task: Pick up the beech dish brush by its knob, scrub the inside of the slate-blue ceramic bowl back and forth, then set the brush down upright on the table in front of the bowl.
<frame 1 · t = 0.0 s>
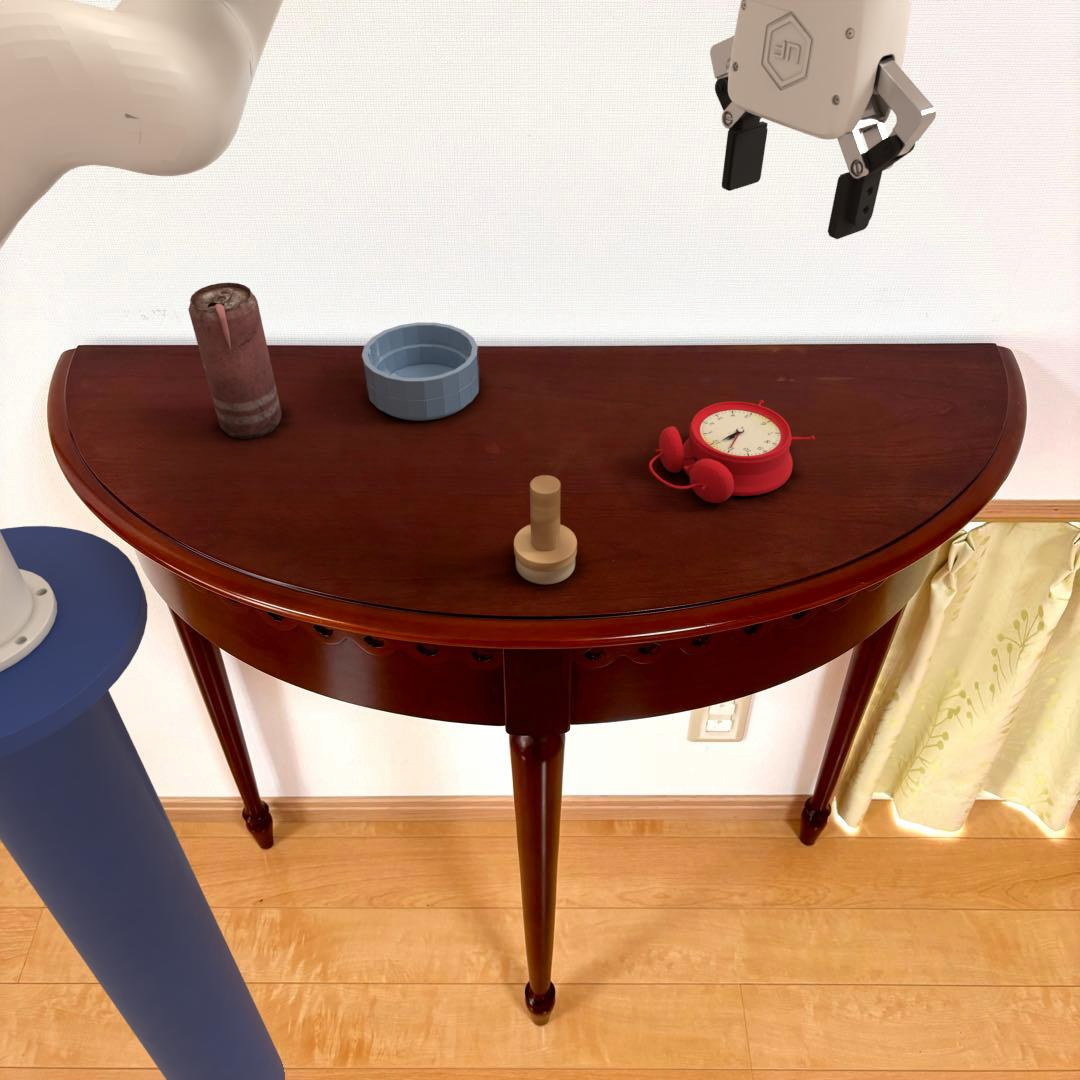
hand: (791, 208, 64), 29 cm above the table, tool pointing down, fingers open, 9 cm apart
can: (252, 425, 96), on the table
dish brush: (545, 564, 80), on the table
alarm clock: (721, 471, 90), on the table
bowl: (424, 392, 100), on the table
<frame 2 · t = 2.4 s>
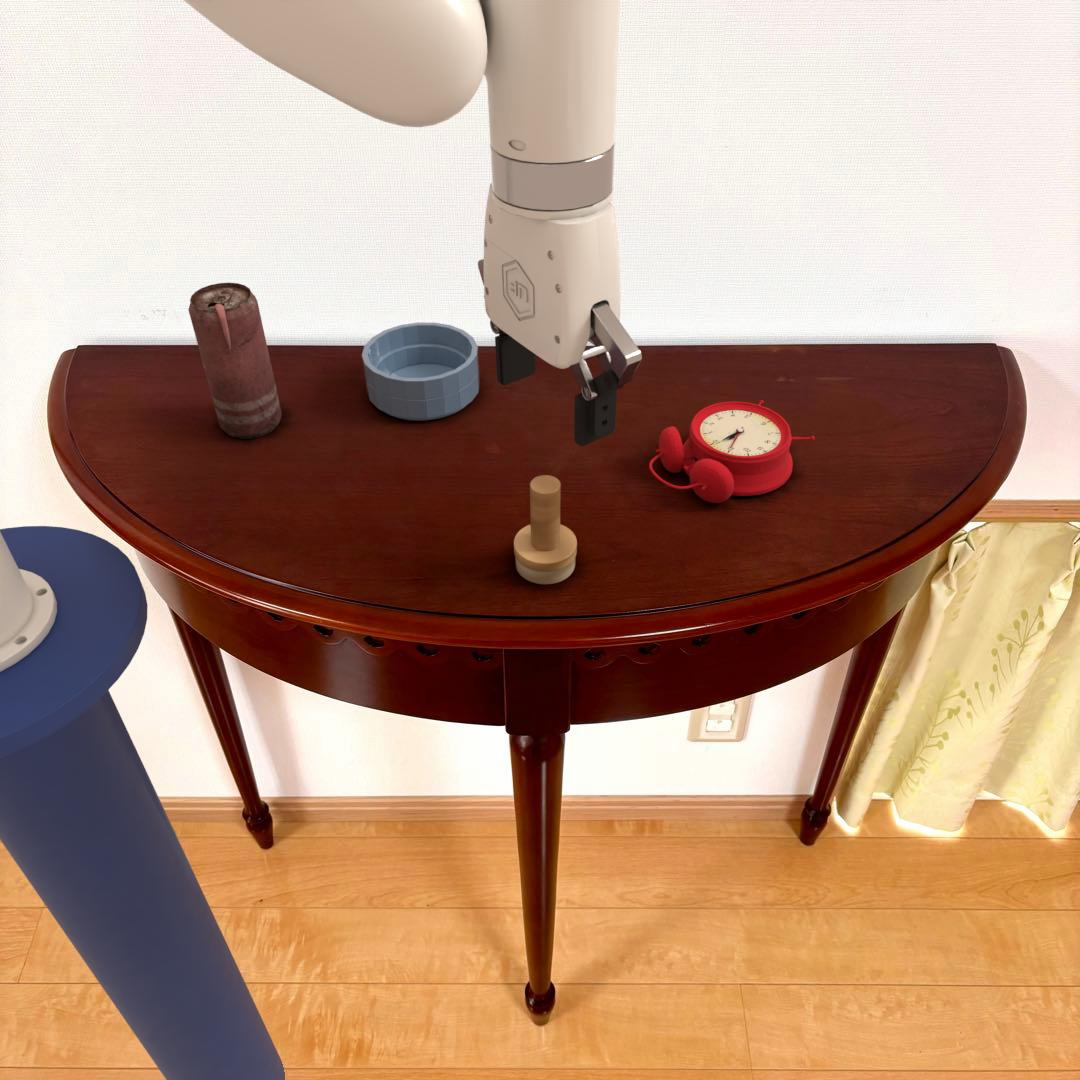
hand: (554, 407, 70), 16 cm above the table, tool pointing down, fingers open, 9 cm apart
nothing on the table moved.
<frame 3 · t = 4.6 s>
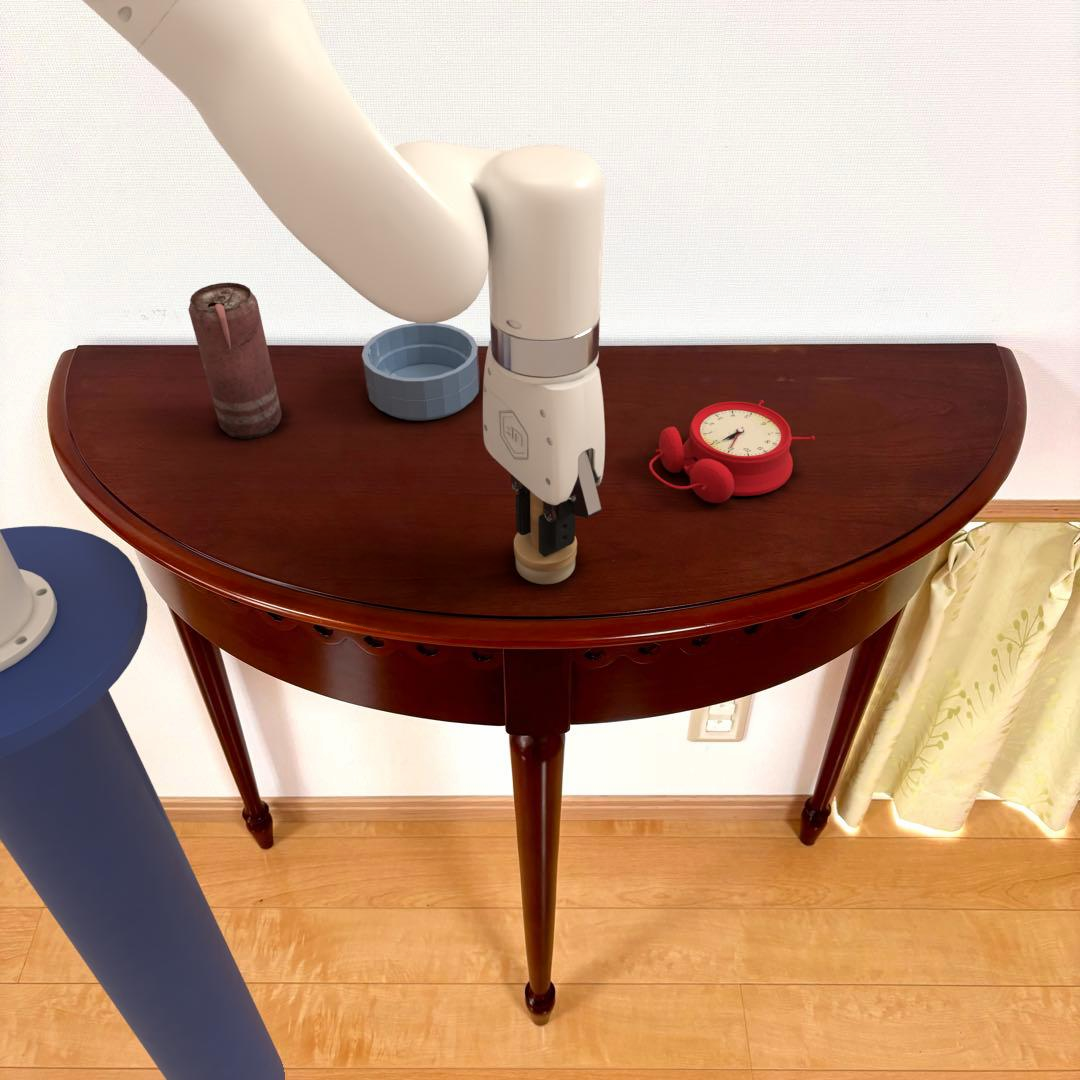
hand: (545, 536, 78), 3 cm above the table, tool pointing down, fingers closed on dish brush, 2 cm apart
dish brush: (545, 564, 80), on the table, touching gripper
everything else where it was.
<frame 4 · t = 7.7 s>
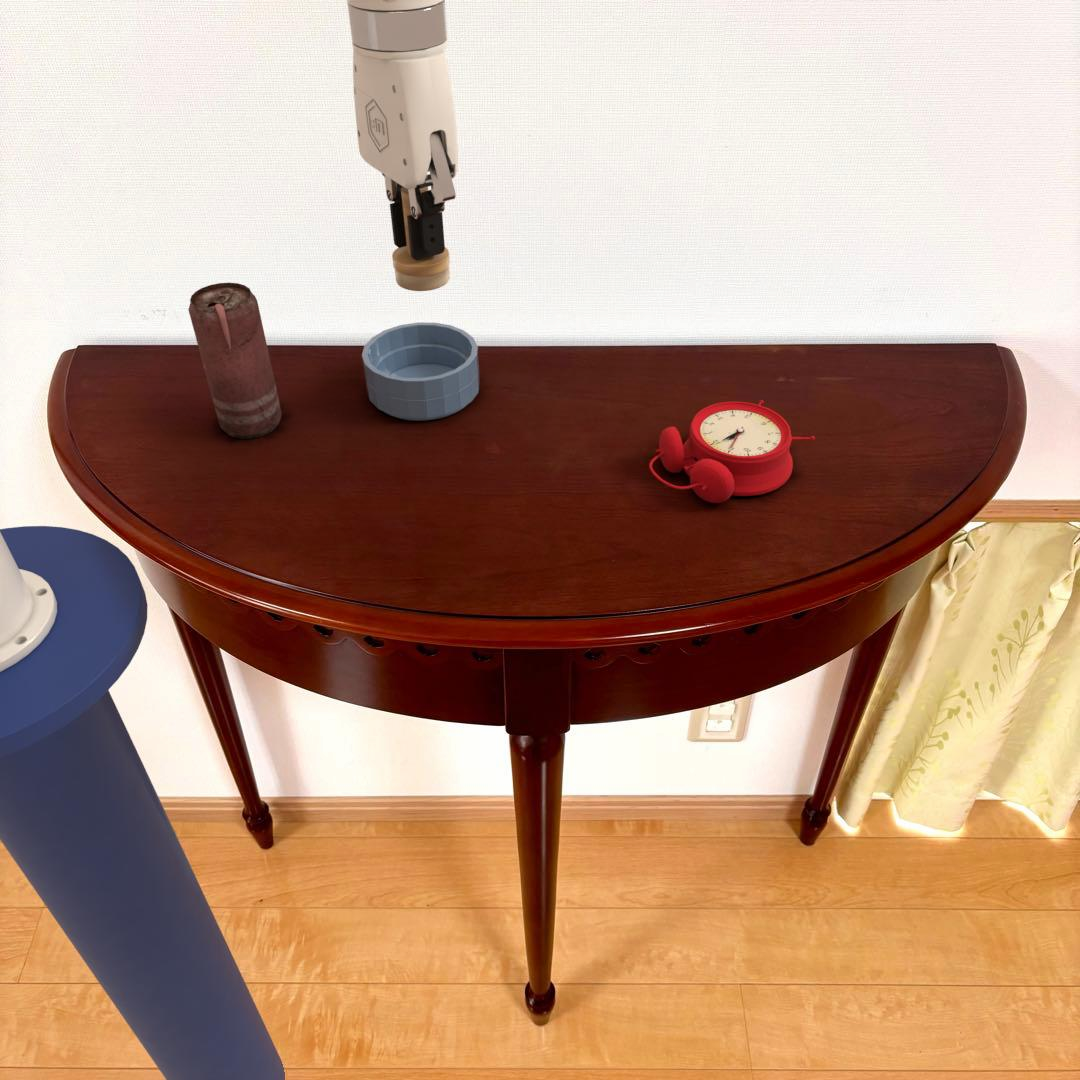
hand: (419, 247, 87), 17 cm above the table, tool pointing down, fingers closed on dish brush, 2 cm apart
dish brush: (423, 279, 89), point 14 cm above the table, touching gripper
everything else where it was.
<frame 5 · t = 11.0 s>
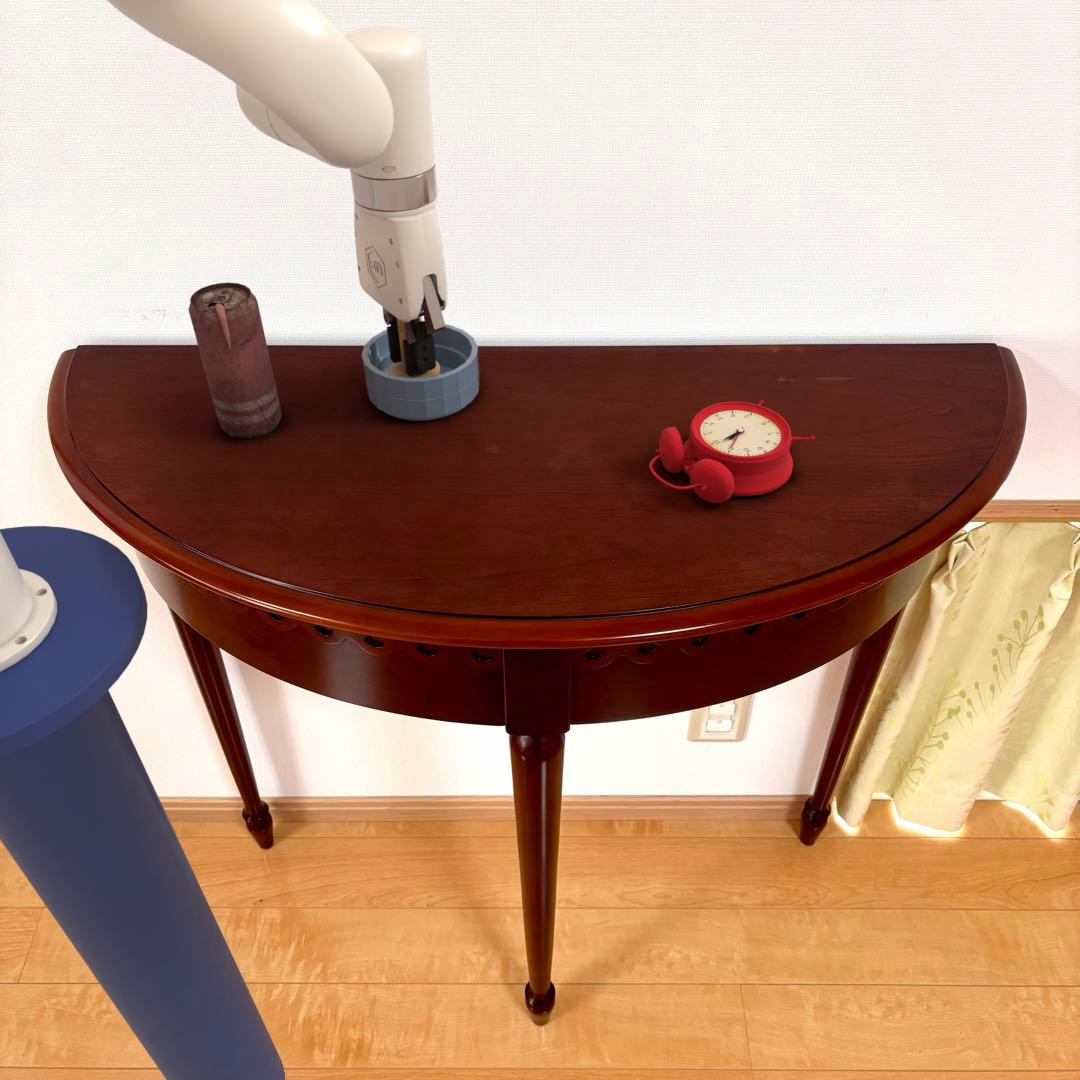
hand: (413, 363, 98), 4 cm above the table, tool pointing down, fingers closed on dish brush, 2 cm apart
dish brush: (416, 389, 100), point 1 cm above the table, touching gripper
everything else where it was.
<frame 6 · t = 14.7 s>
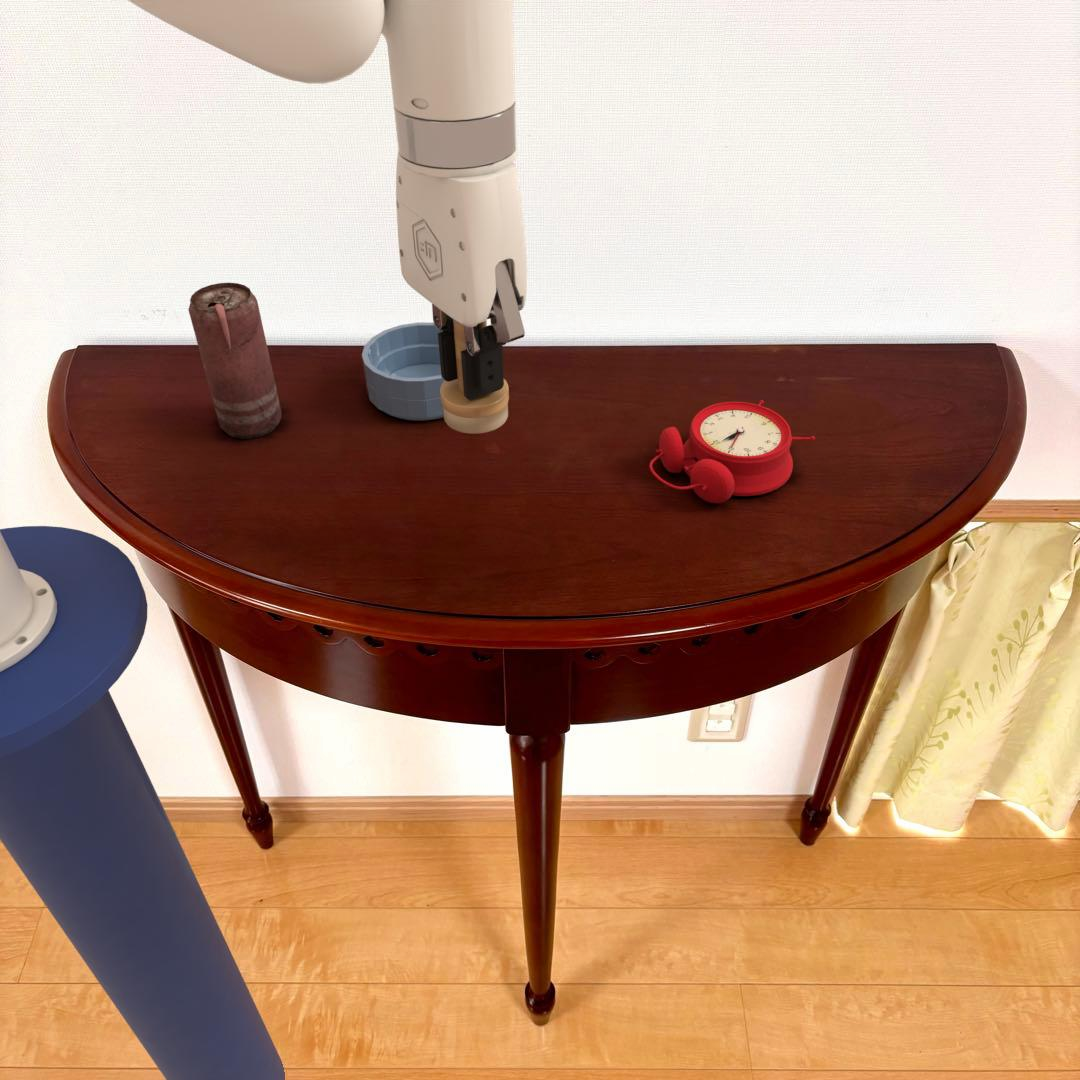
hand: (472, 382, 72), 16 cm above the table, tool pointing down, fingers closed on dish brush, 2 cm apart
dish brush: (476, 415, 74), point 13 cm above the table, touching gripper
everything else where it was.
when the fingers open (3 cm above the table, at t = 17.7 s): dish brush stays where it is, on the table.
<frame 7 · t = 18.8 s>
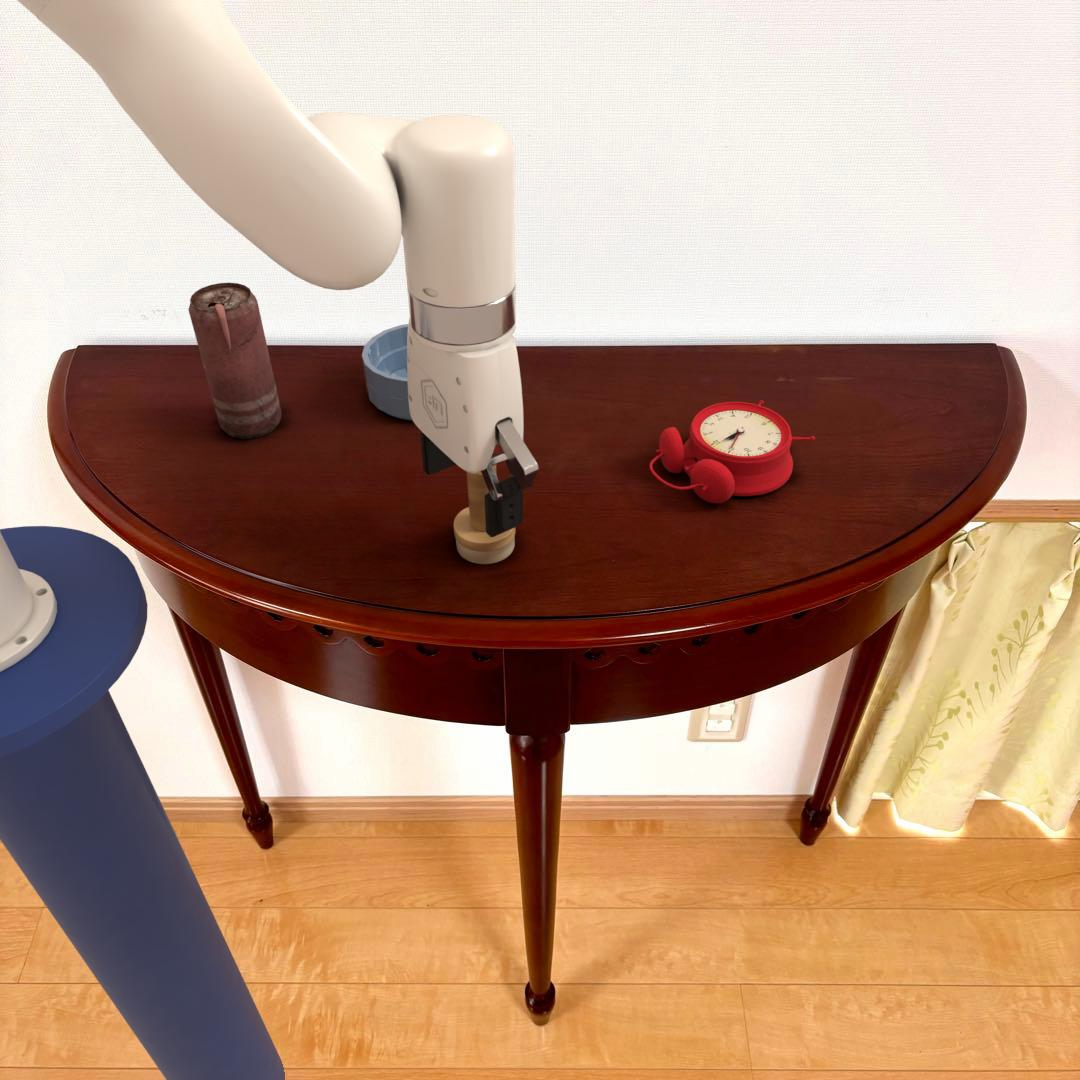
hand: (471, 497, 79), 5 cm above the table, tool pointing down, fingers open, 9 cm apart
dish brush: (485, 544, 82), on the table
everything else where it was.
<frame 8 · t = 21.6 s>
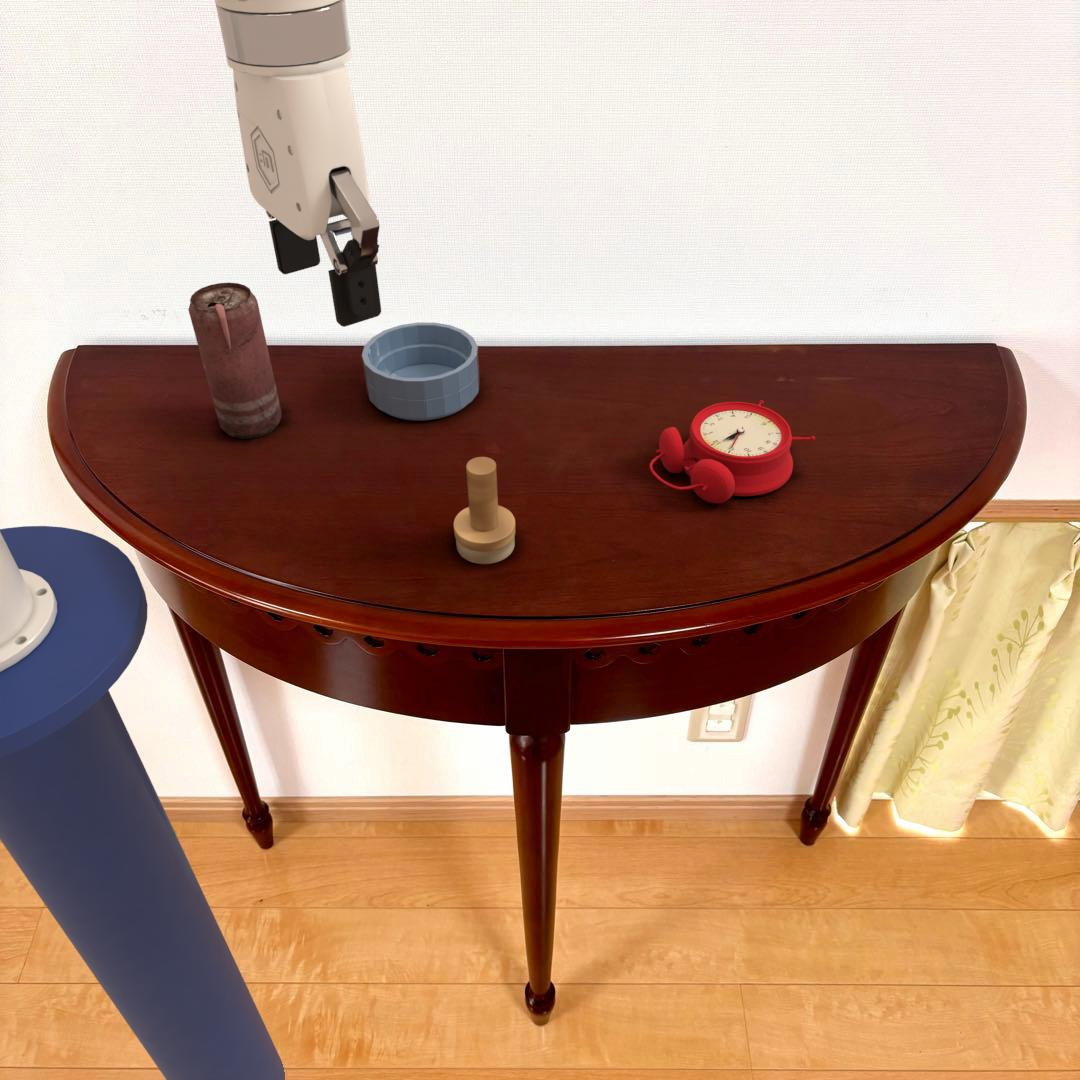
hand: (328, 293, 69), 22 cm above the table, tool pointing down, fingers open, 9 cm apart
nothing on the table moved.
at the end: dish brush inside the target area on the table beside the bowl (0.2 cm from its centre), on the table; dish brush tilted 0°; the gripper is holding nothing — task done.
